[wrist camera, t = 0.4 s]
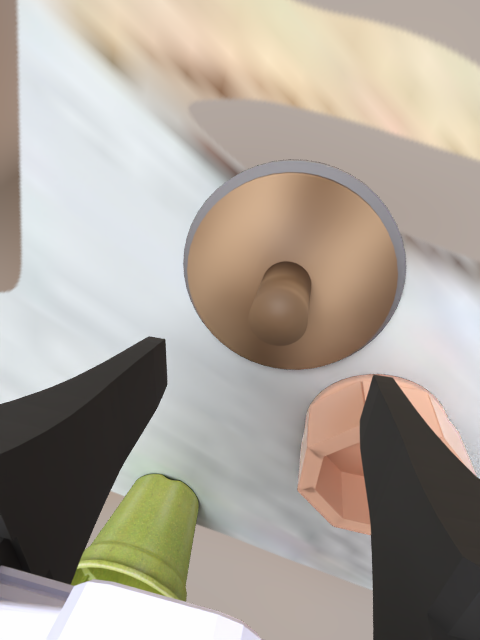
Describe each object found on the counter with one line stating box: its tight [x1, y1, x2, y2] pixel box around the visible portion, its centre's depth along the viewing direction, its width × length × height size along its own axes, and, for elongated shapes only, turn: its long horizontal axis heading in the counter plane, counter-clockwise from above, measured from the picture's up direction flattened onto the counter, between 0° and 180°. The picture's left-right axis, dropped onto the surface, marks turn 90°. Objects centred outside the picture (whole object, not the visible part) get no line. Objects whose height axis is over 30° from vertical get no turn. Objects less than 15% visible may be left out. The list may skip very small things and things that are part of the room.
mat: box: [183, 160, 406, 359], centre depth 21 cm, size 12×12×1 cm
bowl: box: [297, 374, 477, 535], centre depth 23 cm, size 9×9×4 cm
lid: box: [187, 172, 398, 370], centre depth 18 cm, size 11×11×5 cm
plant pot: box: [71, 474, 199, 602], centre depth 30 cm, size 9×9×9 cm
